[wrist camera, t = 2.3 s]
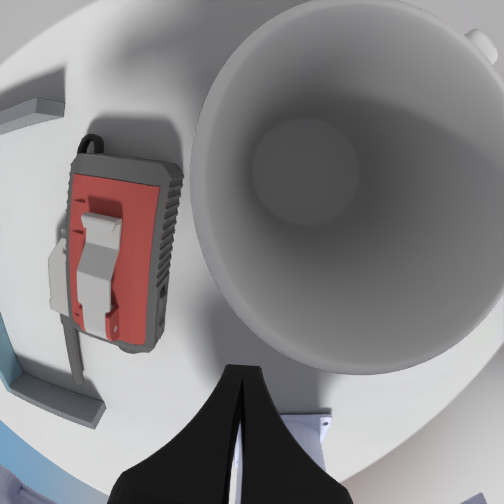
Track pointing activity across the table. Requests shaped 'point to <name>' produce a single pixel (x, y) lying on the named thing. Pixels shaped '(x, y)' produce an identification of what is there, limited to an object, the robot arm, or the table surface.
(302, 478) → the robot arm
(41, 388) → the tray
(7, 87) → the table surface
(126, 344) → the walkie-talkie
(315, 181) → the mug
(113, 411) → the table surface
